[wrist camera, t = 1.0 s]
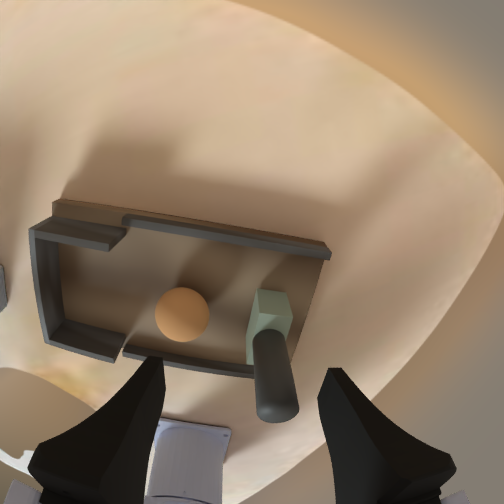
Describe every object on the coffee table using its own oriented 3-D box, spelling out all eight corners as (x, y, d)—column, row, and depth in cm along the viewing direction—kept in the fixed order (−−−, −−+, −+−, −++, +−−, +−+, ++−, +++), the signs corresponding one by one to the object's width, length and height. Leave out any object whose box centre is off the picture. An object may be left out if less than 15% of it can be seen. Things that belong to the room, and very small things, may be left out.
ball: (208, 325, 21) (203, 357, 18) (160, 317, 21) (148, 347, 18) (214, 282, 20) (210, 311, 17) (163, 273, 20) (149, 300, 16)
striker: (272, 339, 22) (287, 434, 14) (245, 336, 21) (249, 432, 13) (286, 292, 20) (311, 384, 12) (256, 288, 20) (266, 381, 12)
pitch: (285, 365, 24) (291, 400, 21) (67, 324, 22) (47, 352, 19) (323, 242, 20) (341, 265, 17) (59, 198, 18) (28, 213, 15)
